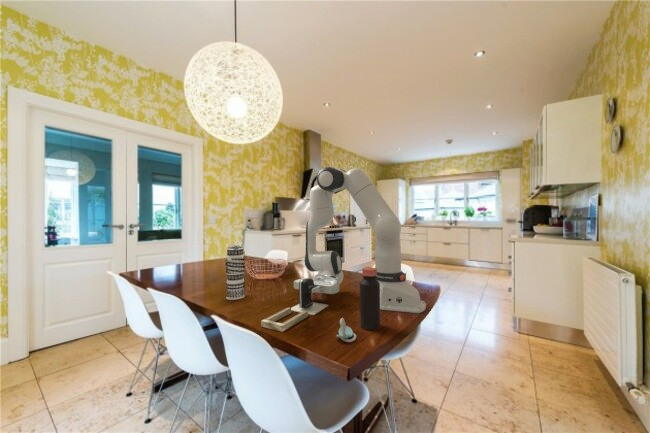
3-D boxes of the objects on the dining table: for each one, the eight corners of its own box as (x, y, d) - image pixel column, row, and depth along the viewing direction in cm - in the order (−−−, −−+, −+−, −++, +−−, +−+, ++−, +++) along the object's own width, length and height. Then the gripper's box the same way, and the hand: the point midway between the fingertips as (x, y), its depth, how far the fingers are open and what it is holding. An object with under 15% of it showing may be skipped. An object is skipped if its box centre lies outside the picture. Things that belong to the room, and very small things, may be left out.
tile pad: (328, 305, 112) (328, 305, 112) (313, 315, 101) (313, 314, 101) (304, 301, 117) (304, 301, 117) (288, 310, 107) (288, 309, 107)
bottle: (364, 321, 95) (363, 266, 95) (382, 324, 91) (382, 267, 91) (357, 328, 89) (356, 269, 89) (376, 332, 85) (375, 271, 85)
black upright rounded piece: (306, 309, 104) (306, 280, 104) (298, 308, 106) (298, 280, 106) (315, 305, 110) (315, 277, 111) (307, 304, 112) (307, 277, 112)
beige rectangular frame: (307, 316, 100) (307, 311, 100) (282, 331, 86) (282, 325, 86) (288, 312, 104) (288, 307, 104) (261, 326, 91) (261, 320, 91)
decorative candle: (249, 294, 129) (248, 244, 130) (238, 300, 120) (238, 246, 121) (232, 293, 131) (232, 244, 132) (221, 299, 122) (221, 246, 123)
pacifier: (357, 334, 84) (339, 332, 86) (358, 315, 84) (340, 313, 86) (354, 345, 77) (334, 342, 79) (354, 324, 77) (335, 321, 79)
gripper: (303, 273, 125) (285, 280, 113) (342, 277, 115) (327, 285, 103) (303, 286, 125) (285, 294, 112) (342, 292, 115) (327, 301, 103)
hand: (305, 290), depth 107 cm, fingers closed on black upright rounded piece, 4 cm apart
